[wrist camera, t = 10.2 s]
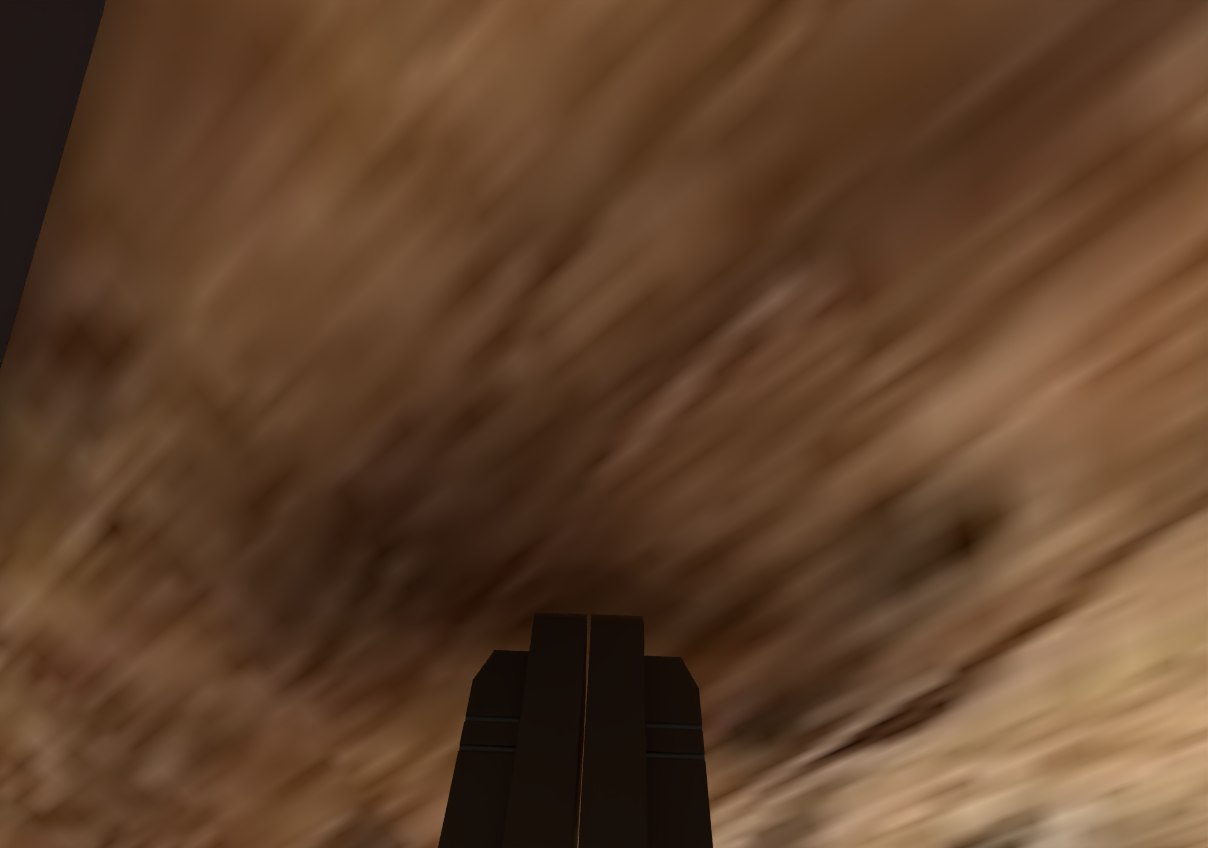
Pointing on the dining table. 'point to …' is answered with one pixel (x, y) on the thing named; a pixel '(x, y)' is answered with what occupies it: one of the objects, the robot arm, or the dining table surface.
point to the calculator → (35, 123)
